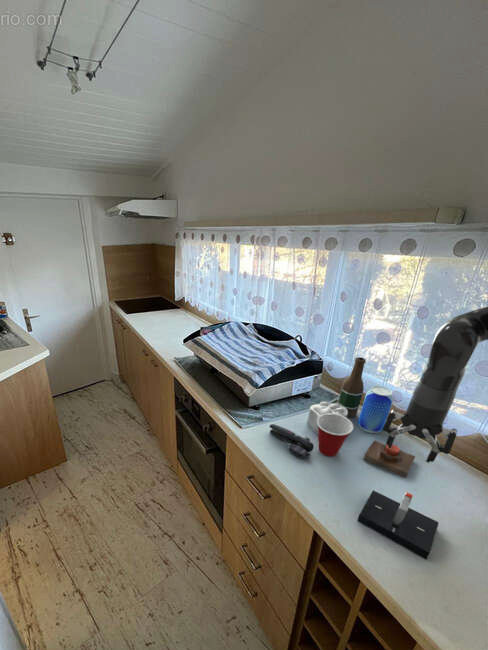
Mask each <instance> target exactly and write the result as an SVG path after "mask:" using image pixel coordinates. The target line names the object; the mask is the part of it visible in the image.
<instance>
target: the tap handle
mask: <svg viewBox="0 0 488 650" xmlns="http://www.w3.org/2000/svg"><path fill="white" fill-rule="evenodd" d="M413 498H414V495H413V494H412V493H409V492H405V493H404V495H403V497H402V500H401V501H400V506H399V508H398V510H397V513H396V515H395V518H394V520H393V522H392V525H394V526H396V527H398V528H399V527H400V525H401V523H402V521H403V519H404V517H405V515H406V513H407V510H408V508H410V505H411V502H412V500H413Z"/></svg>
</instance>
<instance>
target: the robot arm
mask: <svg viewBox="0 0 488 650" xmlns="http://www.w3.org/2000/svg"><path fill="white" fill-rule="evenodd" d="M484 341H488V306H485V307H481V308H477V309H474V310H470V311H468V312H465V313H462V314H459V315H457V316H455V317H452V318H450V319H448V320H447V321H446V322H445V323H444V324H443V325H441V326H440V328H439V329H438V330H437V331H436V334H435V336H434V338H433V340H432V345H431V348H430V352H429V357H428V360H427V362H426V365H425V366H424V369H423V372H422V374H421V376H420V379H419V381H418V383H416V386H415V388H414V391H413V392H412V396H411V398H410V401H409V403H408V406H407V409H406V411H405V412H404V413H400V412H398V411H397V410H396V409H390V411H389V414H388V417H387V419H386V422H385V425H384V427H383V429H382V432H384V433H387V434H388V436H387V438H386V439H387V440H386V443H385V444H387V445H388V447H389V448H391V446H392V444H393V445H394V441H395V439H396V436H398V435H402V434H405V433H408V435H409V436H415V437H417V438H419V439H420V440H421V439H422V440H424V439H425V440H426V441H427V443H428V445H430V450H429V453H428V455H427V457H426V460H425V463H428V464H430V463H433V462H435V460H436V458H437V456H438V454H439V453H443V454H445V455H449V454H450V452H451V450H452V447H453V445H454V443H455V440H456V438H457V434H458V429H456V428H451V429H450V428H446V427H444V426H443V424H444V423H445V420H446V418H447V416H448V413H449V412H450V409H451V407H452V405H453V404H454V401H455V398H456V396H457V391H458V389H459V387H460V385H461V382H462V380H463V378H464V376H465V373H466V367H467V365H468V364H469V361H470V359H471V358H472V356H473V354H474V352H475V350H476V348H477V346H478V345H479V343H481V342H484ZM398 420H400V421H401V424H399V425H398V426H395V427H392V426H391V425H392V423H393V422H395V421H398ZM440 434H443V437H444V438H445V439H446V440H445V444H440V442H439V440H438V436H437V435H440Z"/></svg>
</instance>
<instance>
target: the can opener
mask: <svg viewBox="0 0 488 650" xmlns="http://www.w3.org/2000/svg"><path fill="white" fill-rule="evenodd" d="M269 428H270V430H269V433H270V434H271V435H273V436H274V437H276V438H278V439H280V440H282V441H284V442H287V443H289V447H288V448H287V450H288V451H289V452H290V453H291V454H292V455H294V456H296V457H297V458H300V459H306V458H308V457H309V456H310V453H311V452H312V451H313V450H314V447H315V446H314V443H313V442H311V439H310V437H308V436H305V437H303V436H301V435H299V434H298V433H295V432H294V431H292V430H289V429H287V428H285V427H283V426H280V425H277V424H275V423H271V424H270V425H269Z"/></svg>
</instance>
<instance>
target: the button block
mask: <svg viewBox="0 0 488 650" xmlns="http://www.w3.org/2000/svg"><path fill="white" fill-rule="evenodd" d="M386 446H387V444H386V443H384V442H380V441H378V440H373V441H372V443H371V444H370V446H369V447H368V448H367V451H366V452H365V454H364V455H363V459H362V460H364V461H366V462H368V463H370V464H372V465H375V466H377V467H379V468H382V469H384V470H386V471H389V472H391V473H393V474H395V475H397V476H400V477H402V478H405V479H406V478H407V476H408V475H409V472H410V469H411V468H412V466H413V463H414V461H415V458H416V456H415V455H413V454H411V453H407V452H405V451H403V450H402V449H400V450H399V453H398V455H396V456H395V455H390V454H388V453H387V452H386V451H385V448H386Z"/></svg>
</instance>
